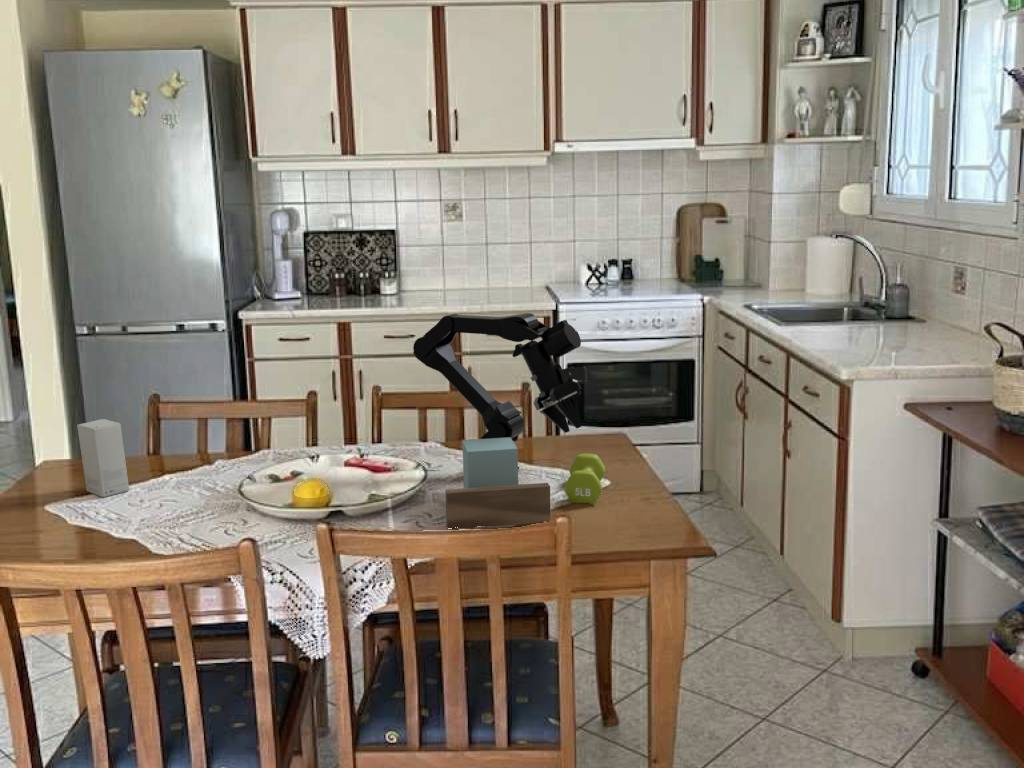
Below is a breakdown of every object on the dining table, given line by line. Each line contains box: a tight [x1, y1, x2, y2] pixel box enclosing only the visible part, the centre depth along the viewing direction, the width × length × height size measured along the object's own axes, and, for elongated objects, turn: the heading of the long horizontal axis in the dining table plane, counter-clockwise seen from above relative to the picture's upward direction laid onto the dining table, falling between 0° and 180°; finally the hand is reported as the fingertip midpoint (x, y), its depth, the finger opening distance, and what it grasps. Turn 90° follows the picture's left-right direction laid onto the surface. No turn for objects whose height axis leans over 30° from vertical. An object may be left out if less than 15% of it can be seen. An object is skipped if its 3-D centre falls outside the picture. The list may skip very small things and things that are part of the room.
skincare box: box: [76, 418, 130, 498], centre depth 218 cm, size 8×7×16 cm
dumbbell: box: [563, 453, 606, 506], centre depth 210 cm, size 16×8×7 cm, turn 171°
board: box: [445, 482, 552, 530], centre depth 191 cm, size 2×20×8 cm, turn 99°
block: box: [461, 437, 519, 488], centre depth 201 cm, size 9×10×13 cm
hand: (573, 429), depth 219 cm, fingers open, 9 cm apart
